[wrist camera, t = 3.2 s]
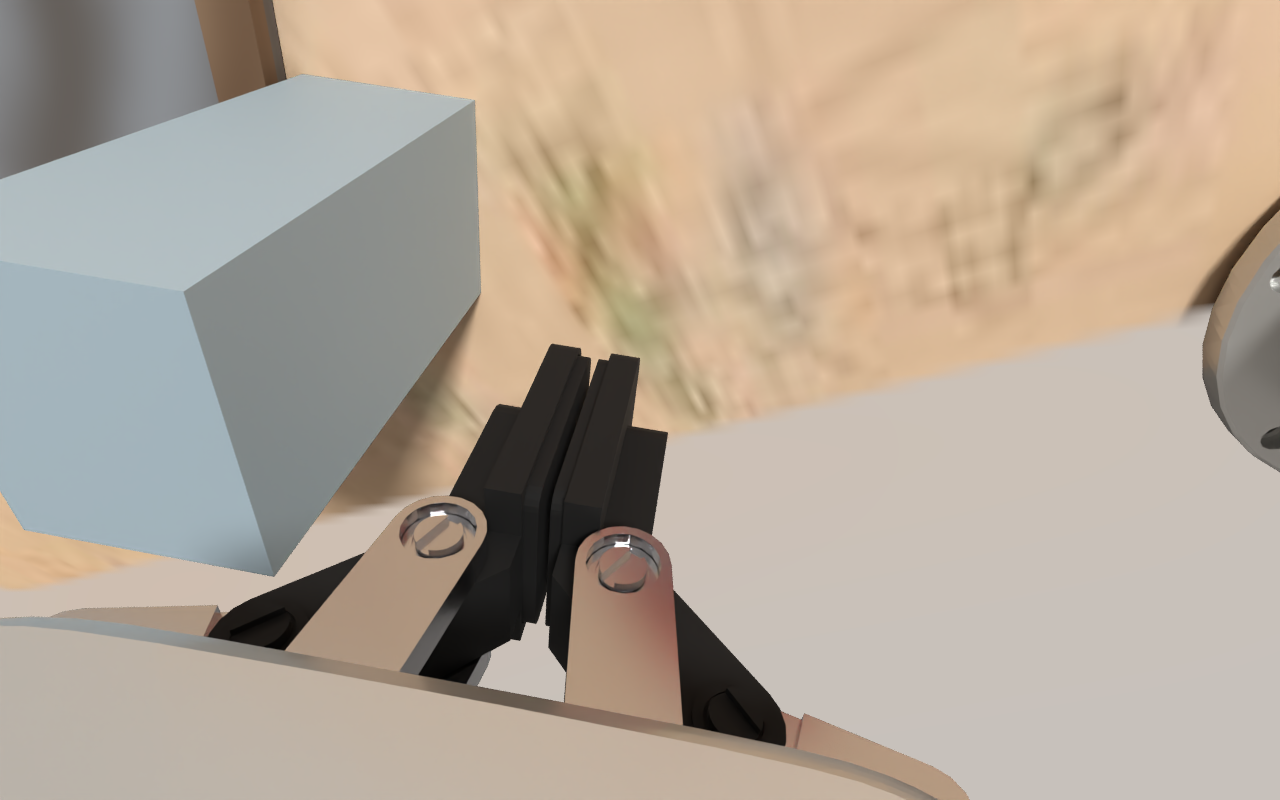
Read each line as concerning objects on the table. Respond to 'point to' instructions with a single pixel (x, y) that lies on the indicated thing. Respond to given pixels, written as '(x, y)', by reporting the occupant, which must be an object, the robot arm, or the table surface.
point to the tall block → (228, 313)
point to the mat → (122, 68)
